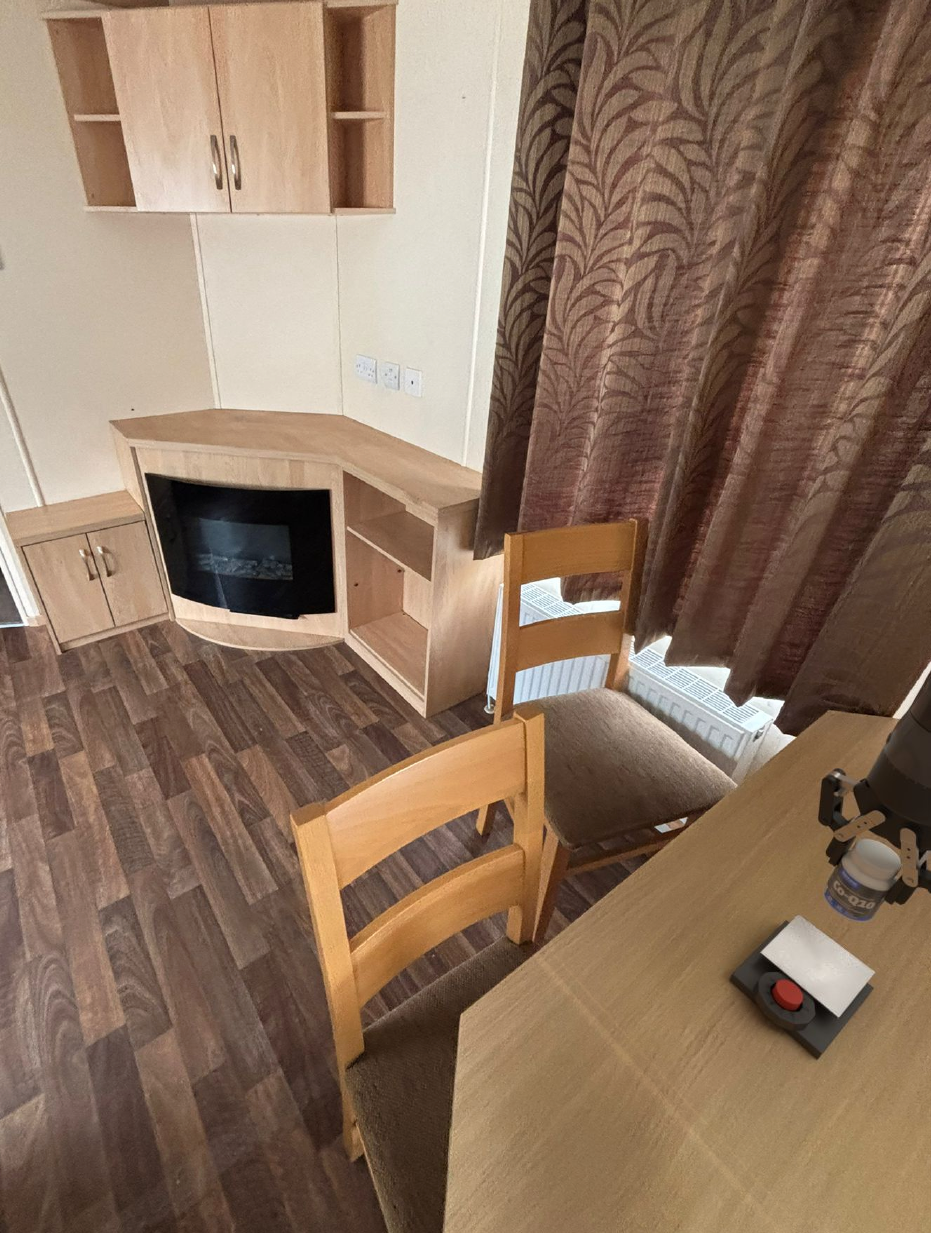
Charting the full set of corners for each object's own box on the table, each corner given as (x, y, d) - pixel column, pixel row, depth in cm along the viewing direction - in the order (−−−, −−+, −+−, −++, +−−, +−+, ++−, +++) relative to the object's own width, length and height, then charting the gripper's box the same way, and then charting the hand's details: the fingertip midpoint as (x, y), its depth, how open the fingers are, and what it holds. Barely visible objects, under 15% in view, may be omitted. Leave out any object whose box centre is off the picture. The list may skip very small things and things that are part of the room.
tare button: (779, 981, 70) (784, 974, 69) (803, 1001, 68) (807, 994, 67) (767, 995, 68) (771, 988, 68) (791, 1015, 66) (795, 1009, 66)
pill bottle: (815, 903, 67) (844, 853, 62) (828, 876, 69) (857, 827, 65) (866, 933, 64) (901, 883, 59) (878, 904, 66) (911, 854, 62)
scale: (782, 926, 78) (790, 912, 76) (869, 994, 71) (879, 980, 69) (722, 986, 72) (729, 972, 70) (811, 1068, 65) (821, 1054, 63)
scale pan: (797, 915, 76) (798, 913, 76) (874, 974, 70) (875, 972, 70) (759, 954, 72) (760, 952, 72) (837, 1019, 66) (838, 1017, 66)
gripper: (1053, 794, 52) (958, 913, 61) (868, 705, 62) (810, 818, 71) (1022, 835, 49) (926, 955, 57) (831, 733, 59) (775, 848, 68)
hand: (862, 878), depth 64 cm, fingers closed on pill bottle, 4 cm apart
